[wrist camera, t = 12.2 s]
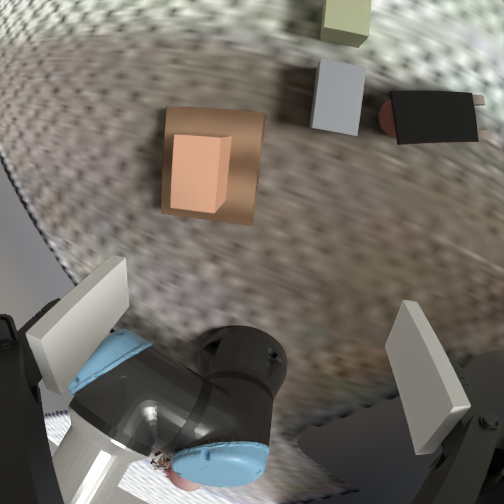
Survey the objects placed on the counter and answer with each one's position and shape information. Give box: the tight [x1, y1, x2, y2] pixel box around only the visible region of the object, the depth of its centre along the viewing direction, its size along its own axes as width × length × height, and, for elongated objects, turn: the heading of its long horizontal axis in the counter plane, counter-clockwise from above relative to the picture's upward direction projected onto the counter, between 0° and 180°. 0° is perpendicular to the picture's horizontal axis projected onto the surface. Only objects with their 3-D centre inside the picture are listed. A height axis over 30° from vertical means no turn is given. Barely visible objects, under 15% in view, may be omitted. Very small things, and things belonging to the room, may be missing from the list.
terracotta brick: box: [170, 133, 232, 213], centre depth 35 cm, size 8×5×6 cm, turn 174°
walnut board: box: [161, 107, 266, 226], centre depth 39 cm, size 14×12×3 cm
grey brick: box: [309, 59, 366, 136], centre depth 33 cm, size 8×5×6 cm, turn 174°
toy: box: [151, 451, 202, 491], centre depth 64 cm, size 12×11×15 cm
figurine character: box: [378, 91, 489, 145], centre depth 31 cm, size 7×8×15 cm
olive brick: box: [320, 0, 371, 48], centre depth 28 cm, size 8×5×6 cm, turn 174°
